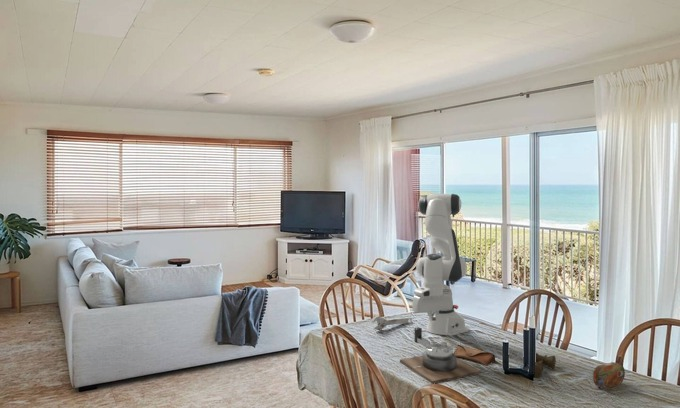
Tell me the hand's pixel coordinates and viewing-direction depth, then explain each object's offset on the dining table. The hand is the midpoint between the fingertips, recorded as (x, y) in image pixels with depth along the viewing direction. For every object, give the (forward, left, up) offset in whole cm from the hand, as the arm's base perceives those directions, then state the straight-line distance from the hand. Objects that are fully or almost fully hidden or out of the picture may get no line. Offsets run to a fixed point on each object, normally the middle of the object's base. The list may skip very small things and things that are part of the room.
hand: (432, 320), depth 216 cm
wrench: (-3, -40, -15) cm, 43 cm away
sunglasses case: (-12, +13, -16) cm, 24 cm away
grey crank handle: (+8, +10, -10) cm, 16 cm away
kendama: (-30, +34, -15) cm, 48 cm away
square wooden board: (+8, +16, -15) cm, 23 cm away
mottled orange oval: (-41, +57, -15) cm, 72 cm away
